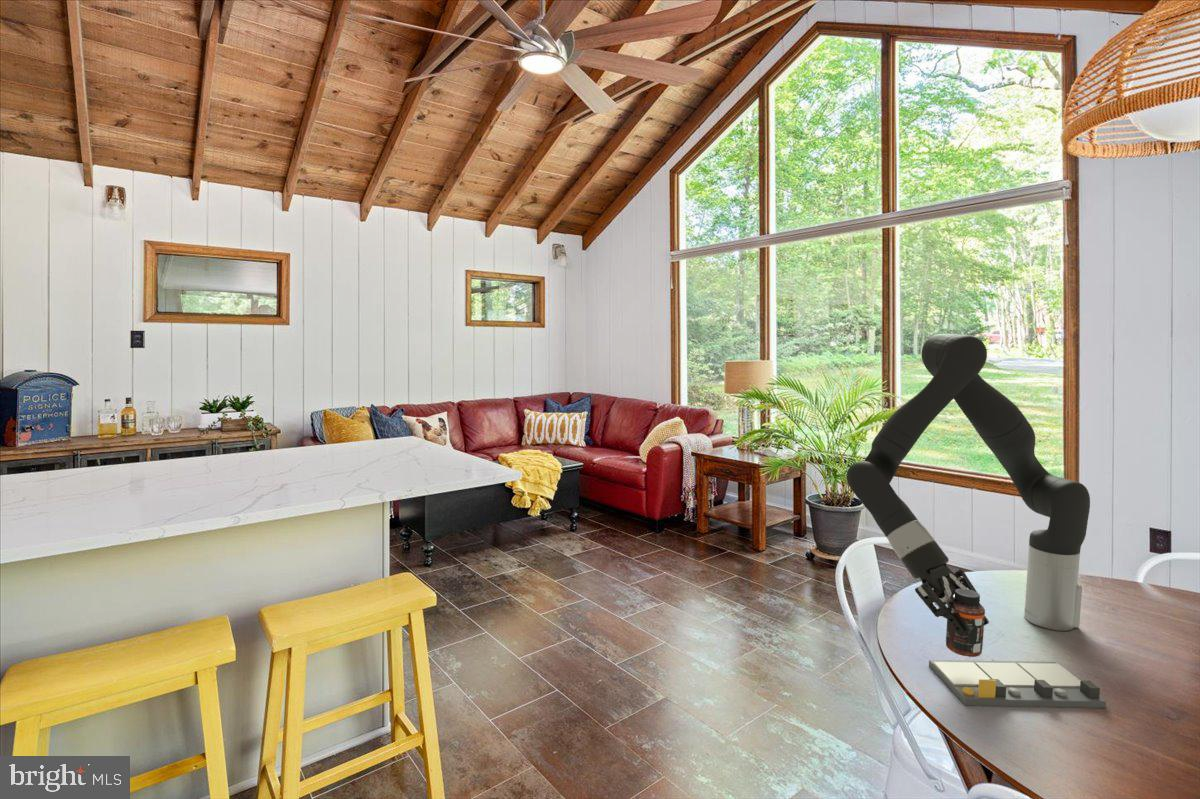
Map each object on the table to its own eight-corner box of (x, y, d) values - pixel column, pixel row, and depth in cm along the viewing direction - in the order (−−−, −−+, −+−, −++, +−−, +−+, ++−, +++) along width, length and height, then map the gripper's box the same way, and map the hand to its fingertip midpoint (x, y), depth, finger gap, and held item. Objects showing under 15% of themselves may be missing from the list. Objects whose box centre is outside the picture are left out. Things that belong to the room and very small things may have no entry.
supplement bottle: (987, 660, 111) (992, 600, 110) (951, 656, 113) (955, 598, 111) (974, 643, 117) (978, 587, 116) (940, 640, 118) (944, 584, 117)
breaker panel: (1054, 667, 120) (1055, 646, 119) (1105, 707, 107) (1107, 684, 106) (928, 665, 121) (929, 644, 120) (965, 705, 108) (966, 681, 107)
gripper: (909, 546, 115) (971, 632, 107) (950, 533, 123) (1011, 612, 114) (882, 564, 120) (939, 648, 112) (922, 550, 128) (979, 627, 119)
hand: (975, 629), depth 113 cm, fingers closed on supplement bottle, 6 cm apart
